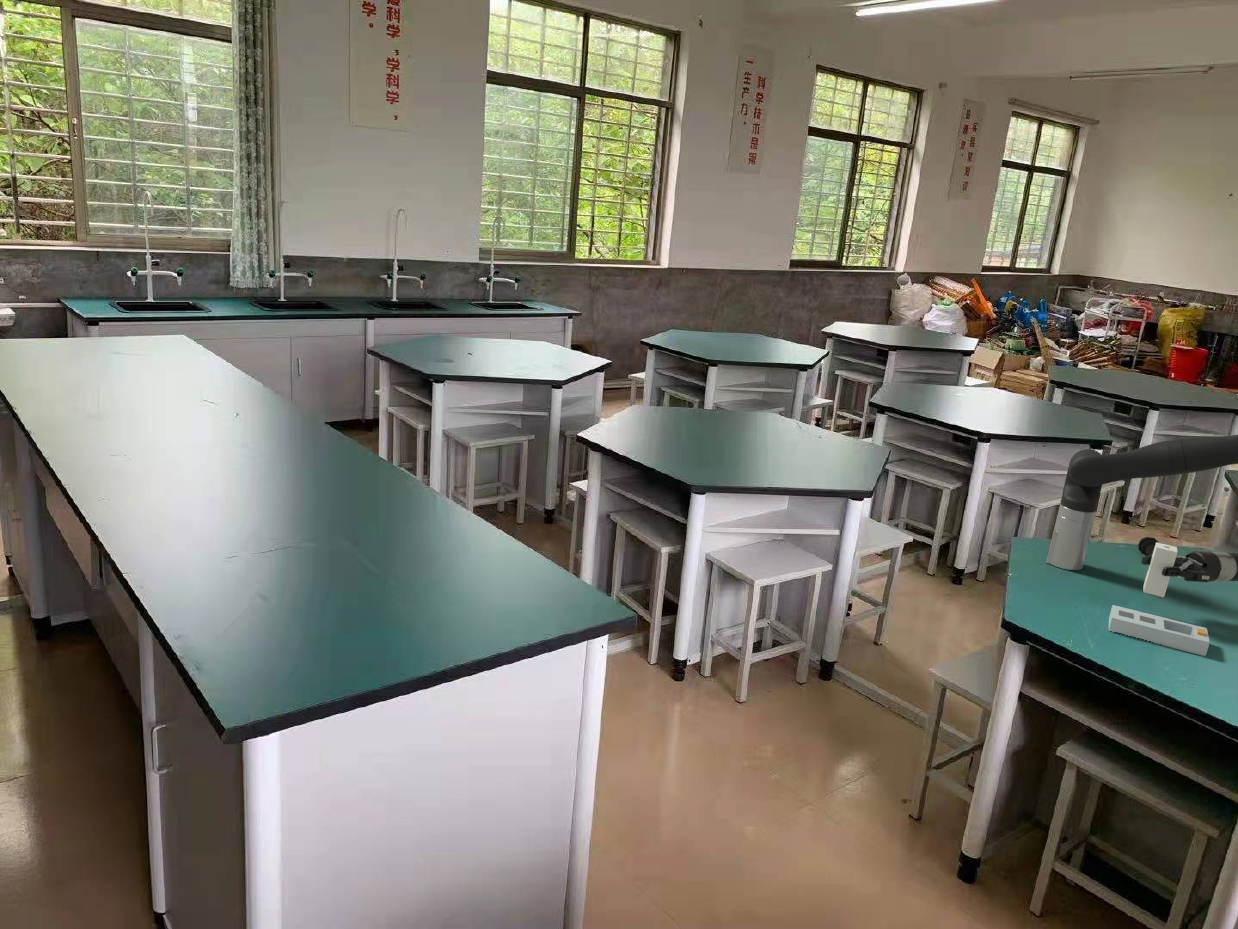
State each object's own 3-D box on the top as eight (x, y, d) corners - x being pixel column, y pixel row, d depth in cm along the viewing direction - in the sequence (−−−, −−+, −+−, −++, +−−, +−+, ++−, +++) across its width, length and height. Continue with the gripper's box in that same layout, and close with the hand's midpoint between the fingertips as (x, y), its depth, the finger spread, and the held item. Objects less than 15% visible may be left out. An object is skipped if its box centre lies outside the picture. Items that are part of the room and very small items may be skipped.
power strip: (1108, 631, 217) (1112, 615, 216) (1109, 617, 225) (1113, 602, 224) (1205, 656, 208) (1210, 640, 207) (1202, 641, 216) (1207, 626, 215)
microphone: (1172, 586, 259) (1147, 552, 277) (1185, 570, 256) (1159, 537, 274) (1155, 578, 259) (1131, 545, 277) (1167, 562, 256) (1143, 530, 274)
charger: (1143, 592, 226) (1156, 547, 223) (1143, 586, 230) (1156, 541, 227) (1164, 597, 224) (1177, 551, 221) (1163, 591, 228) (1176, 546, 225)
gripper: (1191, 541, 234) (1136, 540, 230) (1238, 564, 221) (1179, 563, 217) (1183, 568, 236) (1128, 567, 233) (1228, 592, 223) (1171, 592, 219)
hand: (1153, 565), depth 225 cm, fingers closed on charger, 6 cm apart
